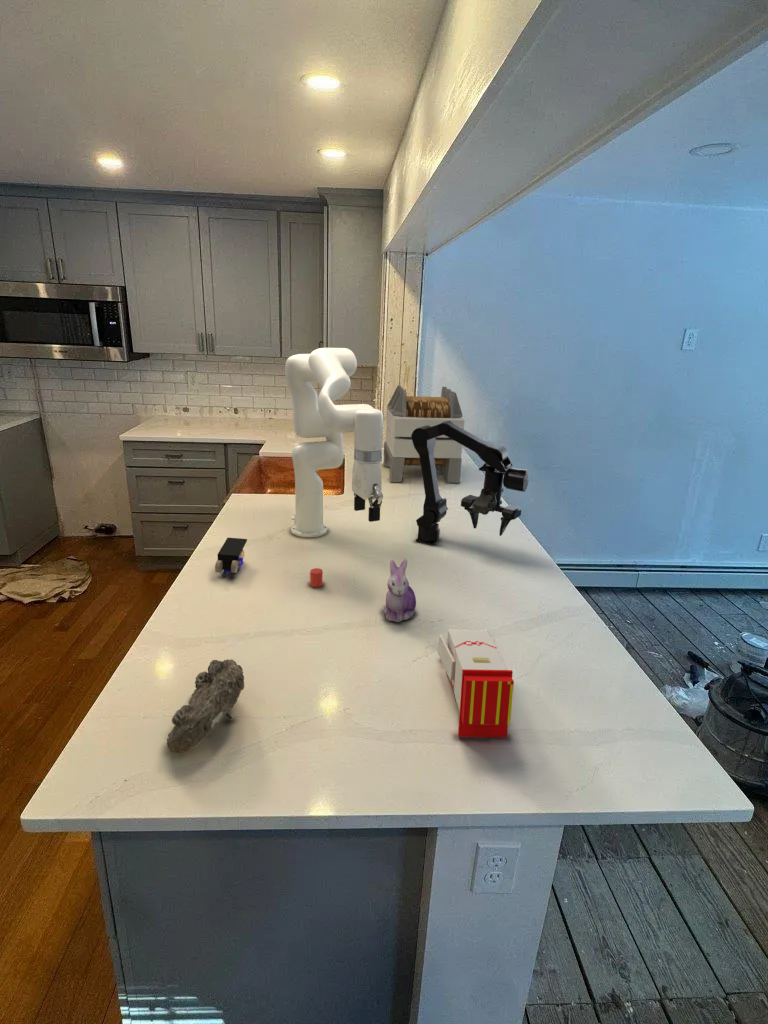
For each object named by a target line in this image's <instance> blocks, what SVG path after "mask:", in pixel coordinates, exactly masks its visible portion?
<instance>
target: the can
mask: <svg viewBox="0 0 768 1024" xmlns="http://www.w3.org/2000/svg"><path fill="white" fill-rule="evenodd" d="M323 573H324V572H323V569H322V568H319V567H315V568H311V569H310V571H309V585H310V586H311V587H312V588H319V587H322V586H323V585H324V583H323V582H324V581H323V579H324V578H323Z"/></svg>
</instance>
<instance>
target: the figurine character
mask: <svg viewBox="0 0 768 1024" xmlns="http://www.w3.org/2000/svg"><path fill="white" fill-rule="evenodd" d="M247 542H248V538H240V537H226V539H225V541H224V543H223V544H222V546H221V547H220V549H219V551H218V552H217V560H216V562H215V564H214V572H215V573H221V577H222V578H224V577H225V576H226V574H227V573H230V574H231V573H232V574H231V578H234V577H235V575H236V573H237V572H239V571H240V567H242V566H243V565H244V564H245V562H244V558H245V551H244V547H245V546H246V544H247Z"/></svg>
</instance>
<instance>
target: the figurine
mask: <svg viewBox="0 0 768 1024" xmlns="http://www.w3.org/2000/svg"><path fill="white" fill-rule="evenodd" d="M407 567H408V559H406V558H404V559H403V560H402V561H401V563H400V565H399V566H398V565H397V563H396V562H395V561H394V560H393V559H391V560H390V561H389V570H390V576H389V578H388V579H387V589H388V591H387V592H386V594H385V595H386V596H385V607H384V615H385V616H386V620H387V621H391V622H395V623H400V622H402V621H406V620H409V619H410V618H411V617H413V616H414V615H415V610H416V606H417V597H416V593H415V591H414V590H413V587H411V586H410V582H409V579H408V577H407V574H406V571H407Z"/></svg>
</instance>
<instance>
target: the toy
mask: <svg viewBox="0 0 768 1024" xmlns="http://www.w3.org/2000/svg"><path fill="white" fill-rule="evenodd" d="M446 640H447V643H446V641H445V639H444V636H443V635H442V634H439V637H438V646H437V656H438V657H439V659H440V661H441V663H442V666H443V668H444V670H445V672H446V674H447V677H448V679H449V681H450V684H451V687H452V690H453V693H454V697H455V701H456V705H457V708H458V711H459V714H458V715H459V716H458V730H457V731H458V732H457V737H458V738H508V731H509V726H510V725H511V717H512V707H513V697H514V696H513V695H514V684H515V680H514V679H513V673H514V671H513V670H512V669H508V667H507V665H506V662H505V661H504V659H503V658H502V655H501V653H500V651H499V649H498V647H497V643H496V639H495V637H494V635H493V634H491V632H490V631H489V629H467V628H466V629H465V628H463V629H461V628H460V629H459V628H448V630H447V639H446Z"/></svg>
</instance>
